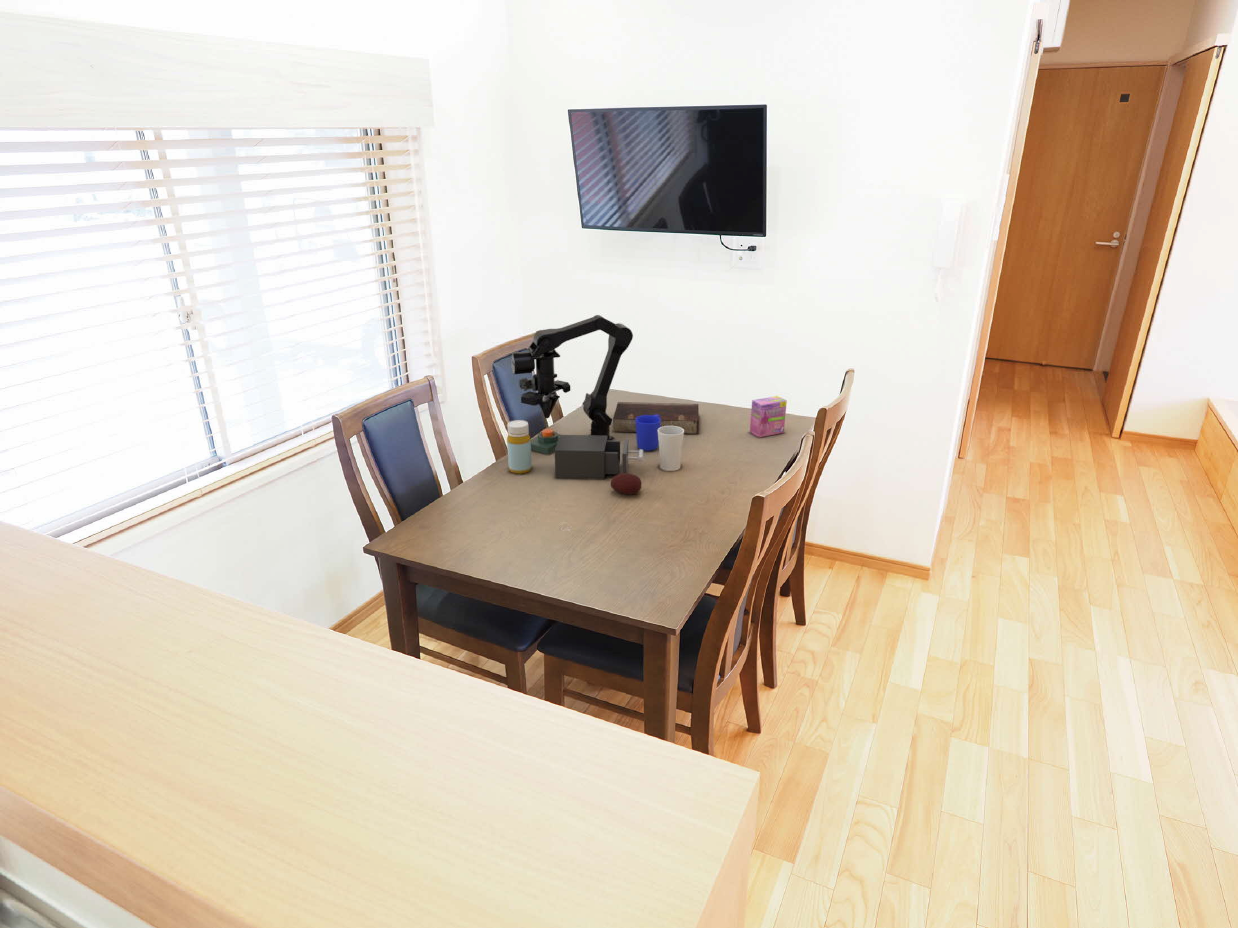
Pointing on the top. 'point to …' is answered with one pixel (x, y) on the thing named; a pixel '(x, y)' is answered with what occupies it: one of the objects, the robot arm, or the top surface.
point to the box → (768, 416)
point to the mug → (647, 432)
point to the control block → (545, 443)
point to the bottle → (519, 447)
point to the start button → (548, 432)
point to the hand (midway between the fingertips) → (547, 417)
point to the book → (667, 412)
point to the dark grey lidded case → (580, 457)
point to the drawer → (618, 457)
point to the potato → (626, 483)
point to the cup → (670, 447)
